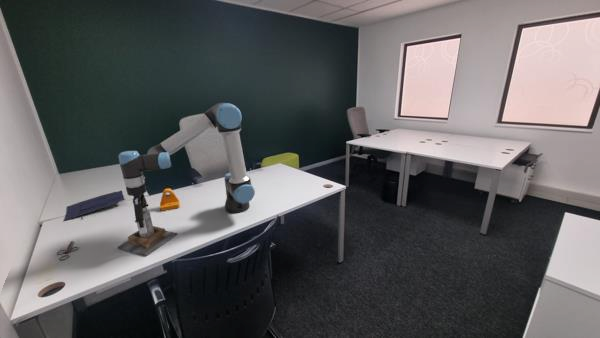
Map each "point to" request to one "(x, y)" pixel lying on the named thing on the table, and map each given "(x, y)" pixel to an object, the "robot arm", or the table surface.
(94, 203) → the navy blue flat panel
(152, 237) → the can holder
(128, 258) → the table surface
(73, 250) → the grey scissors
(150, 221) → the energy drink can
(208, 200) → the table surface
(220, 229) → the table surface
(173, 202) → the bracket
